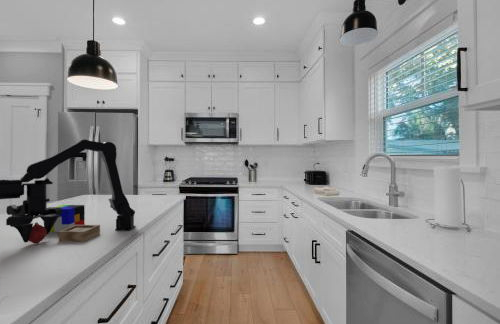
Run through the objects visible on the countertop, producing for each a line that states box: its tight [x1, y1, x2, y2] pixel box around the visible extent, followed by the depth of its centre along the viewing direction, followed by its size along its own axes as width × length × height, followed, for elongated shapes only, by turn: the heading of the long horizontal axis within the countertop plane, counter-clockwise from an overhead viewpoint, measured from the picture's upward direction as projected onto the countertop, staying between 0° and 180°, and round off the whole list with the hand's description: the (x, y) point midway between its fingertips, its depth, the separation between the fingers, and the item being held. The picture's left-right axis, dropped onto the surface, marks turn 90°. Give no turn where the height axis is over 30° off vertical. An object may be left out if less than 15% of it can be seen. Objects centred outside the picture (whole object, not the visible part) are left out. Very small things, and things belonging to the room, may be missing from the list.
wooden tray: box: [58, 224, 101, 242], centre depth 104 cm, size 10×10×4 cm
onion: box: [28, 221, 47, 245], centre depth 96 cm, size 6×6×8 cm
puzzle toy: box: [49, 204, 86, 233], centre depth 117 cm, size 10×10×10 cm
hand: (36, 238), depth 96 cm, fingers open, 9 cm apart
